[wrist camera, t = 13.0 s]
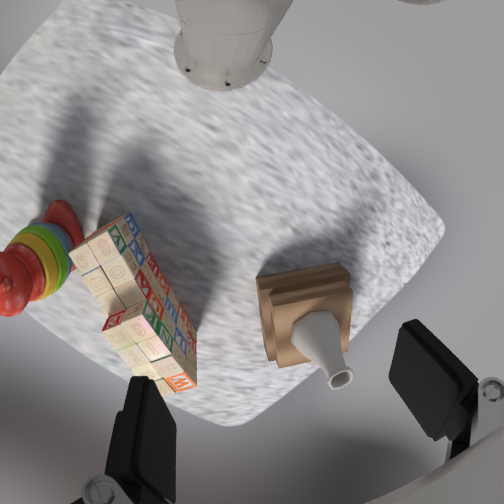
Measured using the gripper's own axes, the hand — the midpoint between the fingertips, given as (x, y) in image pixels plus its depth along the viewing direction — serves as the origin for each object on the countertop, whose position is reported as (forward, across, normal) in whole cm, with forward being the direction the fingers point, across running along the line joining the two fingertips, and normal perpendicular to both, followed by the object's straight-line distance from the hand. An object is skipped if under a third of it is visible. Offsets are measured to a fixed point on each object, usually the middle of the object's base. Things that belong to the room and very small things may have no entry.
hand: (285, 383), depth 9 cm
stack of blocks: (+31, +13, +9) cm, 35 cm away
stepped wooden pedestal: (+30, -9, +17) cm, 36 cm away
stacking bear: (+31, +26, 0) cm, 40 cm away
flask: (+24, -9, +17) cm, 30 cm away
